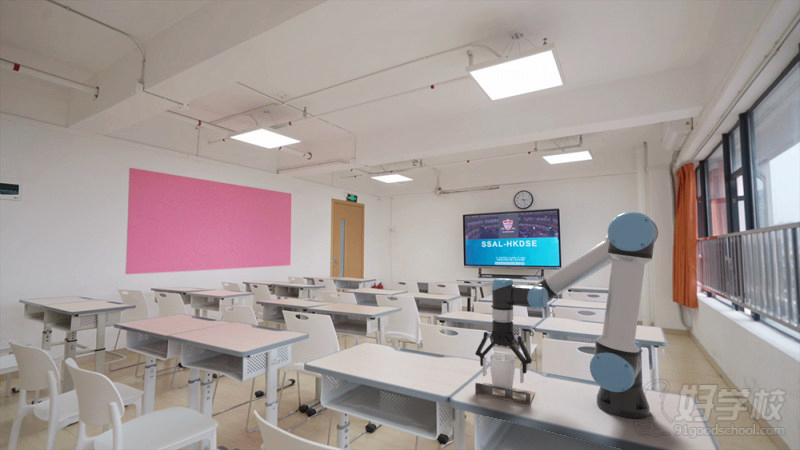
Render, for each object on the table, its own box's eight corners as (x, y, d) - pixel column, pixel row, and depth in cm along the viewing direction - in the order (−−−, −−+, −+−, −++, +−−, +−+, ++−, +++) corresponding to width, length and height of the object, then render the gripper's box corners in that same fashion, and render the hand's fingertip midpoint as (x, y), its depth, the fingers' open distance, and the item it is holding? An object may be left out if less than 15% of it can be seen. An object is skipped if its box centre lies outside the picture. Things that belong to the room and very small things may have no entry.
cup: (490, 394, 131) (490, 359, 132) (489, 384, 140) (489, 353, 141) (516, 396, 129) (516, 361, 130) (513, 387, 138) (513, 354, 139)
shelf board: (534, 393, 133) (534, 383, 134) (529, 405, 124) (529, 394, 124) (483, 383, 142) (483, 374, 143) (475, 393, 133) (475, 383, 133)
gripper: (539, 322, 133) (540, 381, 132) (473, 315, 145) (473, 369, 144) (536, 325, 127) (537, 388, 126) (467, 318, 139) (467, 375, 137)
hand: (503, 378), depth 135 cm, fingers open, 13 cm apart
